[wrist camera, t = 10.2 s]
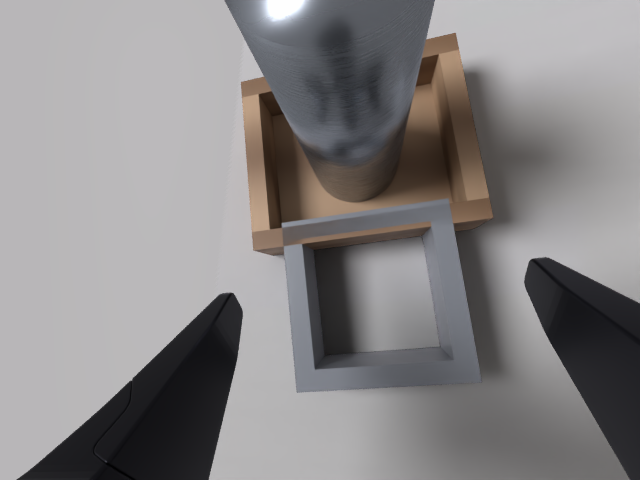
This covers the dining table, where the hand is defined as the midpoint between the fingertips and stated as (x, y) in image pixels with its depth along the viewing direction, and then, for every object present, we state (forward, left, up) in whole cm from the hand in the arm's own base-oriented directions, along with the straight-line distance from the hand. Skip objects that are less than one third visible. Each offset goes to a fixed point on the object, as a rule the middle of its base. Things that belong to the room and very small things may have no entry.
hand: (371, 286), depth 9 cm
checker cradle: (0, 0, -9) cm, 9 cm away
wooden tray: (+5, +6, -9) cm, 11 cm away
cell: (+5, +6, -8) cm, 11 cm away
